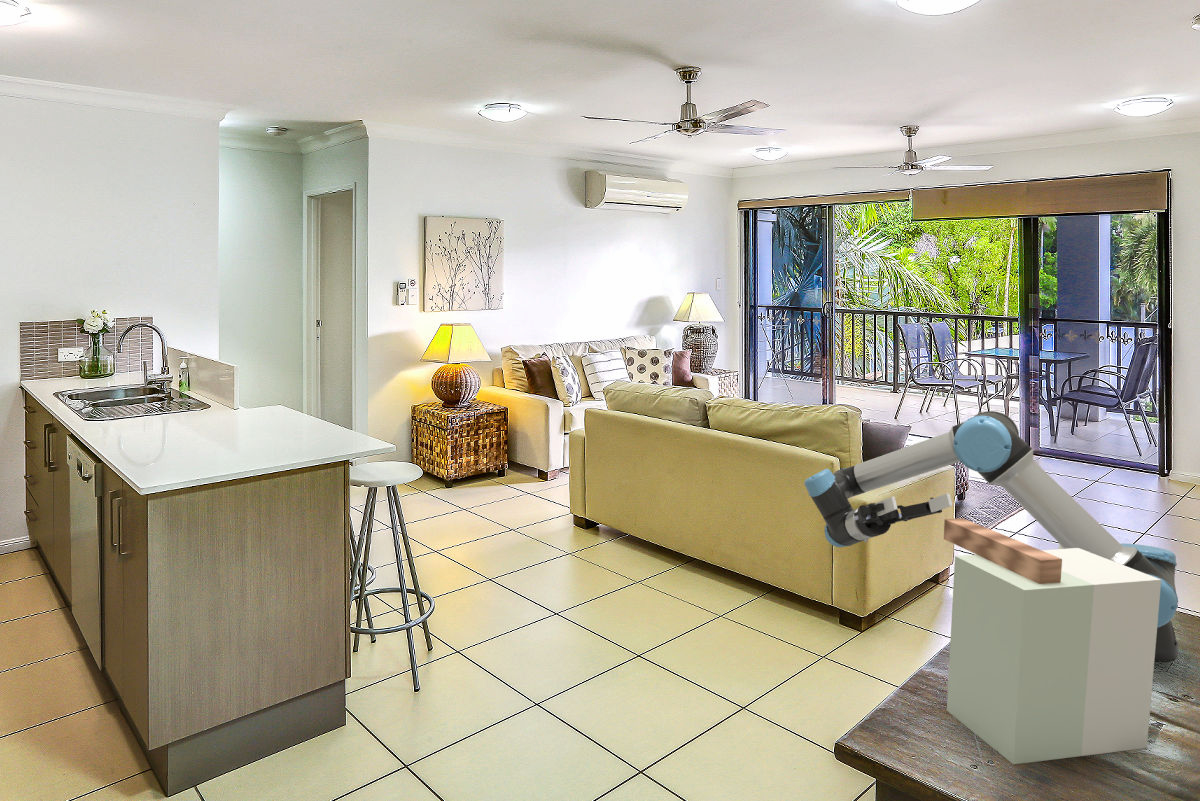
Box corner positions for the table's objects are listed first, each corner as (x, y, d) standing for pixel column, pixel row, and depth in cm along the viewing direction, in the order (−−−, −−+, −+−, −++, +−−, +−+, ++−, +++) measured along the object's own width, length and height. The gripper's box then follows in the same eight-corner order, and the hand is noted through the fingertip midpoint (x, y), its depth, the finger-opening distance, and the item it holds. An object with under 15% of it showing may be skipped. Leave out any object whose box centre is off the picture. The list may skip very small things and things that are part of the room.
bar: (943, 539, 157) (944, 519, 156) (961, 537, 157) (962, 518, 157) (1039, 583, 131) (1041, 560, 131) (1060, 582, 132) (1062, 559, 132)
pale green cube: (946, 710, 149) (954, 556, 146) (1067, 697, 154) (1078, 547, 151) (1013, 764, 132) (1024, 590, 128) (1146, 748, 137) (1161, 579, 133)
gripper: (917, 534, 191) (976, 515, 171) (824, 540, 184) (874, 521, 165) (910, 503, 193) (967, 481, 174) (818, 508, 187) (867, 486, 168)
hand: (922, 501), depth 169 cm, fingers open, 13 cm apart
